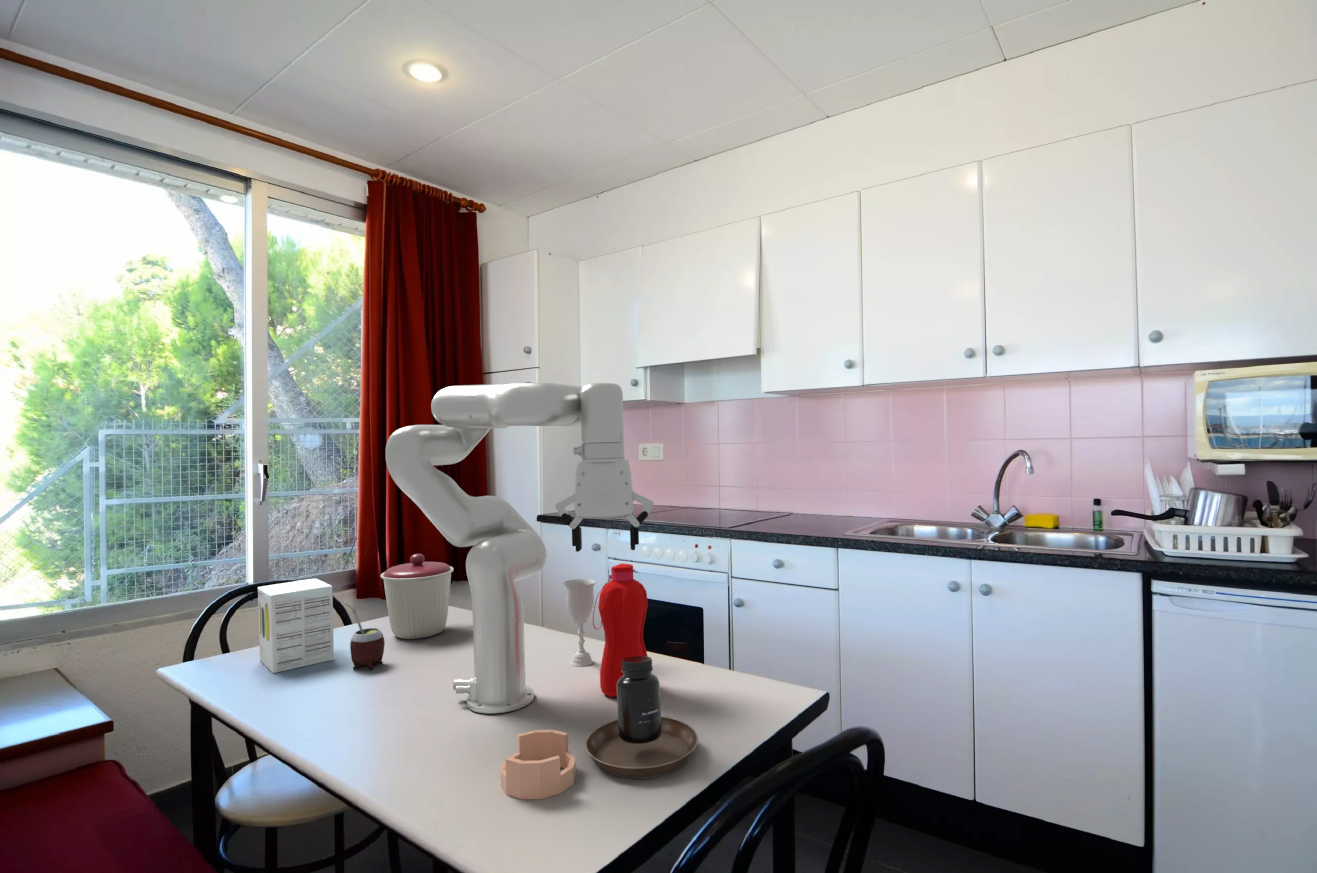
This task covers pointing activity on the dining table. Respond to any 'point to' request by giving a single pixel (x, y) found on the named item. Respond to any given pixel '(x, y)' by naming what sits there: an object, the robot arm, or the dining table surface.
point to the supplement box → (295, 624)
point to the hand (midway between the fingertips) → (605, 549)
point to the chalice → (580, 613)
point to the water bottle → (621, 624)
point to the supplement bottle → (638, 701)
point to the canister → (417, 597)
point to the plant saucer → (642, 750)
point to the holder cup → (539, 766)
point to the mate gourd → (366, 646)
